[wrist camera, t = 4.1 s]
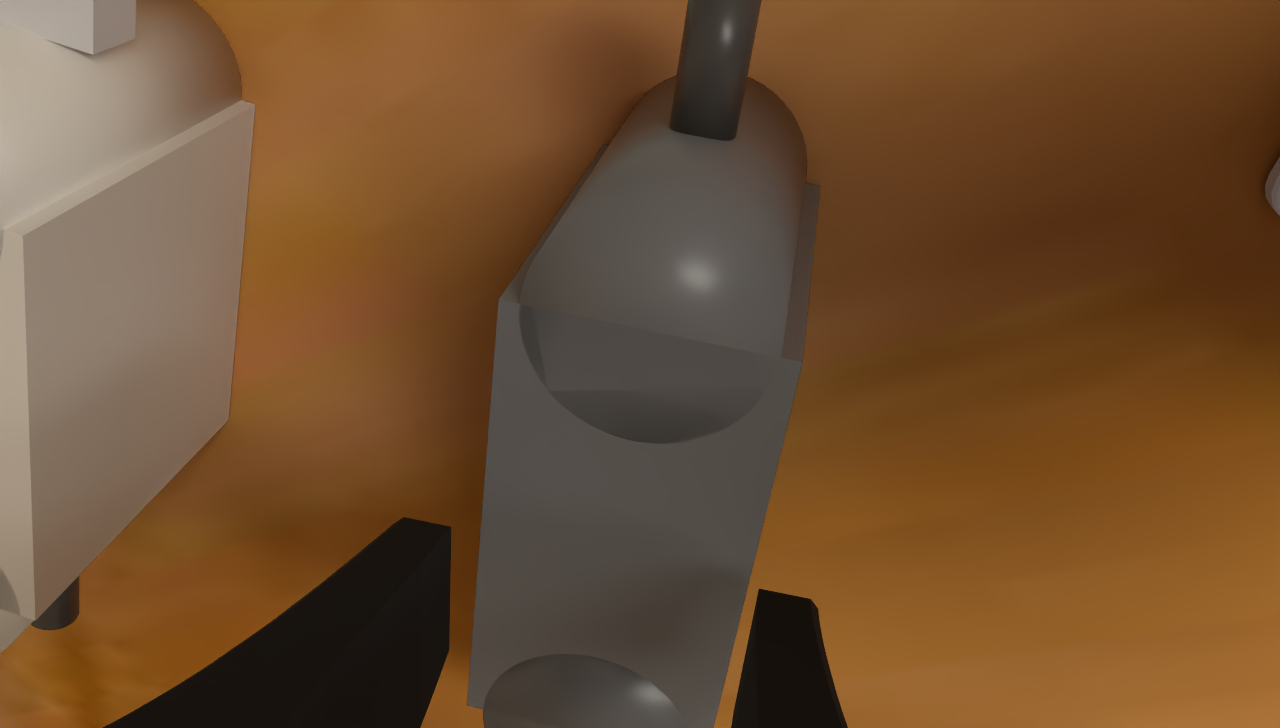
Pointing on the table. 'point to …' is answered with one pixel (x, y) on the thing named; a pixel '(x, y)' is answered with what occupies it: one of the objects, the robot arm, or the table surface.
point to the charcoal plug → (645, 404)
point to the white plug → (109, 275)
